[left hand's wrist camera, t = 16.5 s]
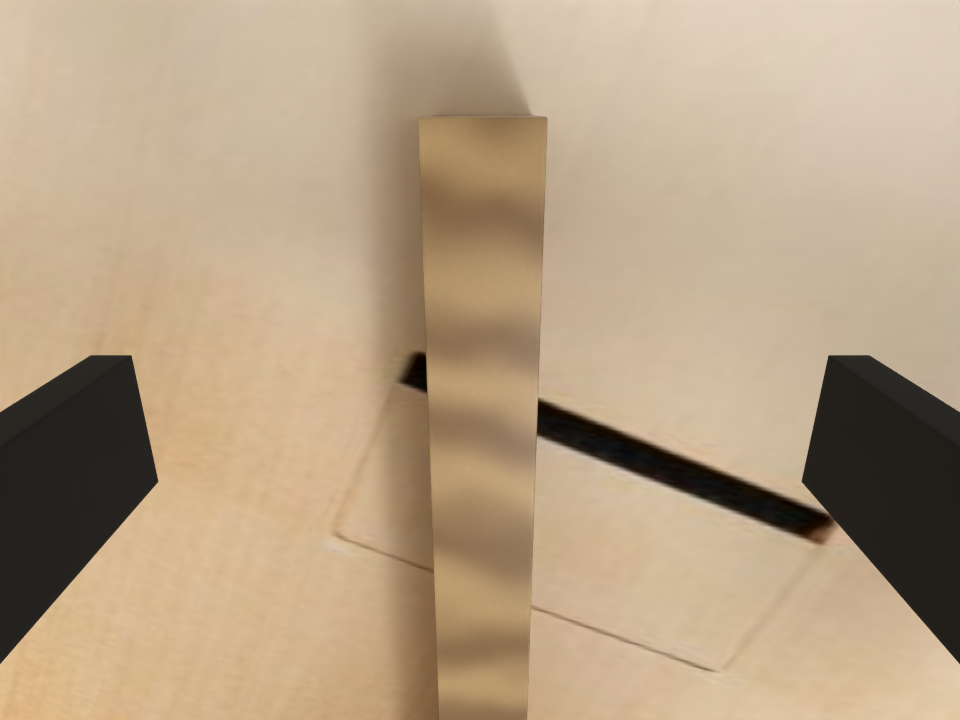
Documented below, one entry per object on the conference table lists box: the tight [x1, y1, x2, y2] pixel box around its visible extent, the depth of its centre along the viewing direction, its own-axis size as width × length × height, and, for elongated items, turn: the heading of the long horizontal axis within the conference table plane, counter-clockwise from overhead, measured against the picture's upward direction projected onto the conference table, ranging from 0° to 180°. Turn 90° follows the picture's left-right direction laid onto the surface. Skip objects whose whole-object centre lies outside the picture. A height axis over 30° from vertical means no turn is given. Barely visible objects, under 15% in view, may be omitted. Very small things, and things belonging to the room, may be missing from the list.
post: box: [418, 116, 547, 720], centre depth 44 cm, size 68×6×8 cm, turn 0°
